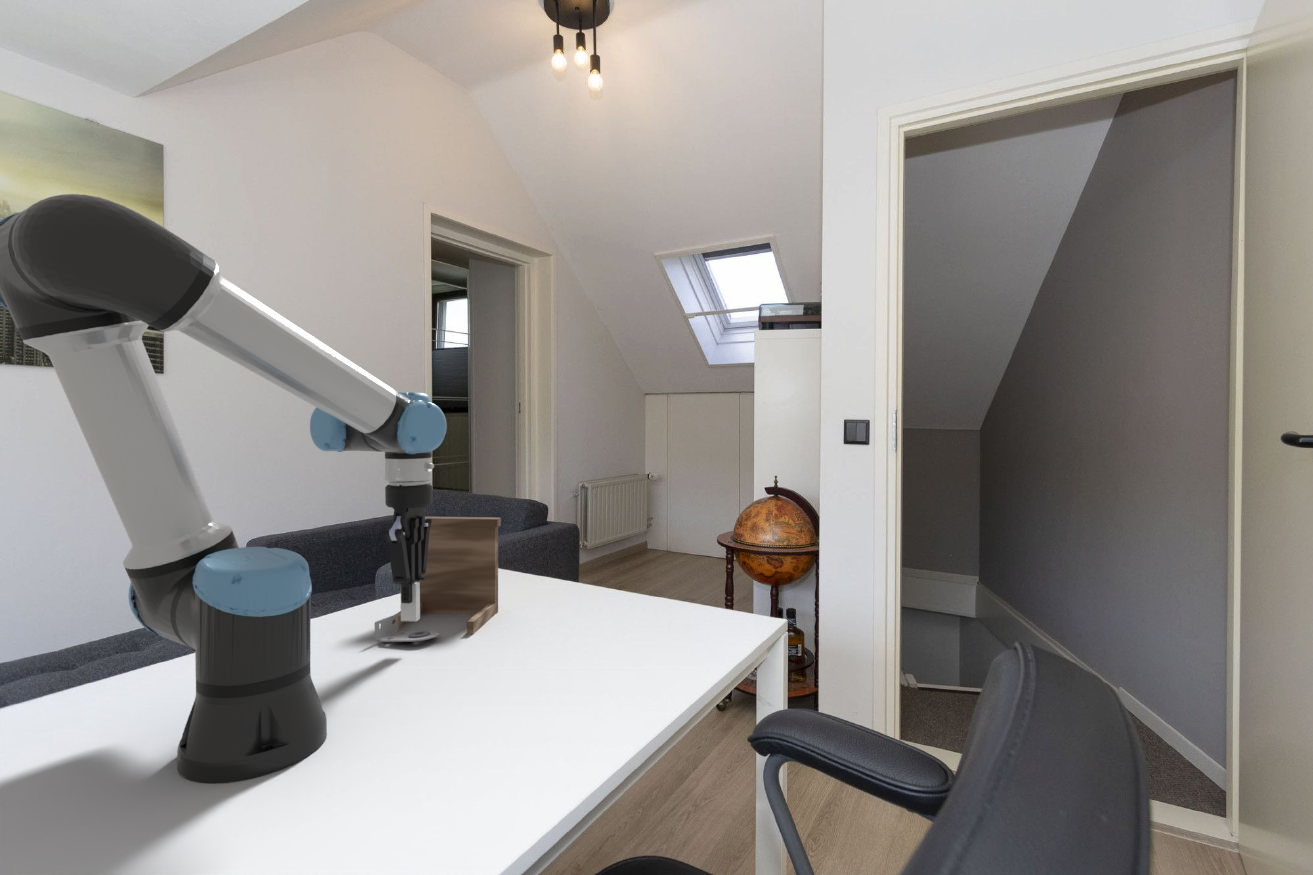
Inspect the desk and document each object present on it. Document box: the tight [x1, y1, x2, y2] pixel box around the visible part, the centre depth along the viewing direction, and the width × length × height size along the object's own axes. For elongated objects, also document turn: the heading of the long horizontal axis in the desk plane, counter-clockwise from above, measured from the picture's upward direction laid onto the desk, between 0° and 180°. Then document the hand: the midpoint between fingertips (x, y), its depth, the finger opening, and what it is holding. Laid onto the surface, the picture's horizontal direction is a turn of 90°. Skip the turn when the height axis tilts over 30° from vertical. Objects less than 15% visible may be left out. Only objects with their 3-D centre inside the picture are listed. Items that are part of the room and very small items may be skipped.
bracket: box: [374, 614, 440, 643], centre depth 116 cm, size 7×10×3 cm, turn 78°
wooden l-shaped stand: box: [392, 515, 502, 636], centre depth 127 cm, size 15×17×20 cm
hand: (410, 619), depth 111 cm, fingers closed
